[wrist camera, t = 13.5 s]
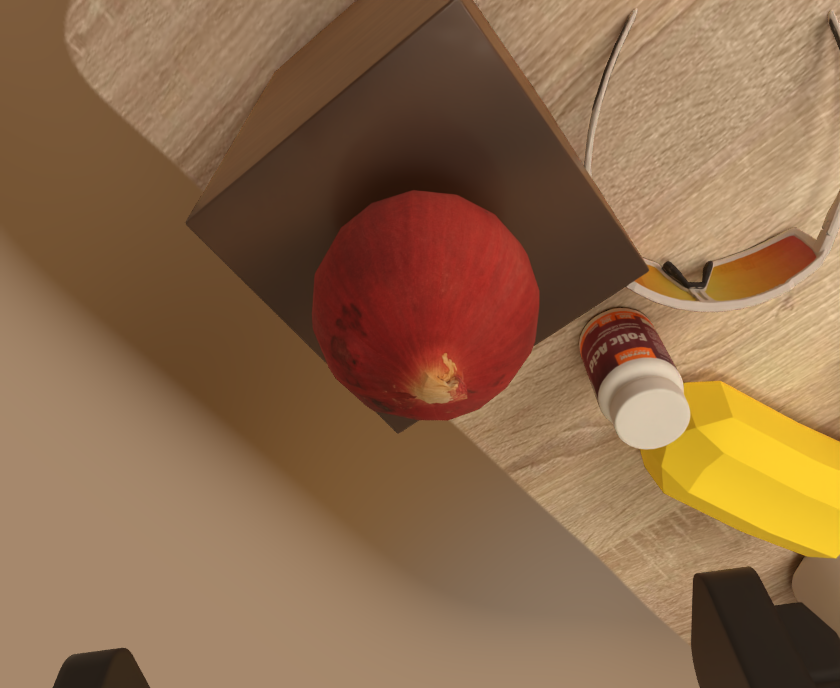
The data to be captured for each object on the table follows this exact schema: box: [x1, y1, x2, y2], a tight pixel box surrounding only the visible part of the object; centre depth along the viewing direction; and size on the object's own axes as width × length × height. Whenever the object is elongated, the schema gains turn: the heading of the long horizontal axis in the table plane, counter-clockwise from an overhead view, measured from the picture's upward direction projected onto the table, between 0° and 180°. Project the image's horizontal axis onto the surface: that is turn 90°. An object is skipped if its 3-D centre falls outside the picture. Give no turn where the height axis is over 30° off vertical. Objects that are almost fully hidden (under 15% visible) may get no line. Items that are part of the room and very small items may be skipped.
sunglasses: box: [584, 9, 840, 312], centre depth 42 cm, size 14×15×5 cm
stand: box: [186, 0, 649, 433], centre depth 32 cm, size 10×10×20 cm
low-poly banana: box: [640, 381, 840, 559], centre depth 51 cm, size 18×7×8 cm
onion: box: [312, 190, 539, 420], centre depth 20 cm, size 6×6×8 cm
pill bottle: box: [579, 308, 690, 449], centre depth 45 cm, size 5×5×8 cm
